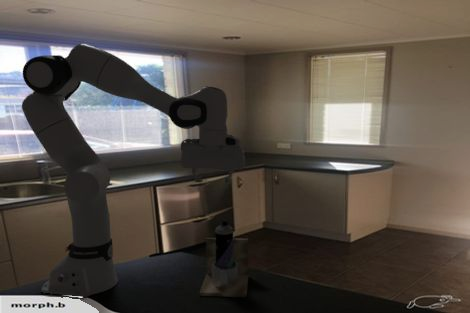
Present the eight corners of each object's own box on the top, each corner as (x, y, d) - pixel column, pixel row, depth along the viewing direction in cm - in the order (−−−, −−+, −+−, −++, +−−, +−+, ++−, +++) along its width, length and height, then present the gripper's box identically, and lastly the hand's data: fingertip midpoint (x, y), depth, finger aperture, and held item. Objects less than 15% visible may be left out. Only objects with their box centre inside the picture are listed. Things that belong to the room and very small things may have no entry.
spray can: (213, 284, 110) (212, 222, 108) (220, 277, 115) (219, 217, 113) (229, 287, 108) (228, 223, 106) (236, 280, 113) (235, 219, 111)
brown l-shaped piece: (199, 295, 105) (198, 253, 104) (207, 275, 119) (206, 237, 118) (246, 297, 104) (246, 254, 103) (248, 276, 118) (248, 238, 117)
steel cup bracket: (210, 288, 108) (210, 269, 107) (215, 273, 118) (215, 256, 117) (237, 288, 107) (236, 269, 107) (239, 274, 117) (239, 257, 117)
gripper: (178, 139, 109) (178, 183, 110) (244, 140, 107) (243, 185, 108) (183, 138, 115) (183, 180, 117) (245, 139, 113) (244, 181, 115)
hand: (212, 182), depth 113 cm, fingers open, 8 cm apart
